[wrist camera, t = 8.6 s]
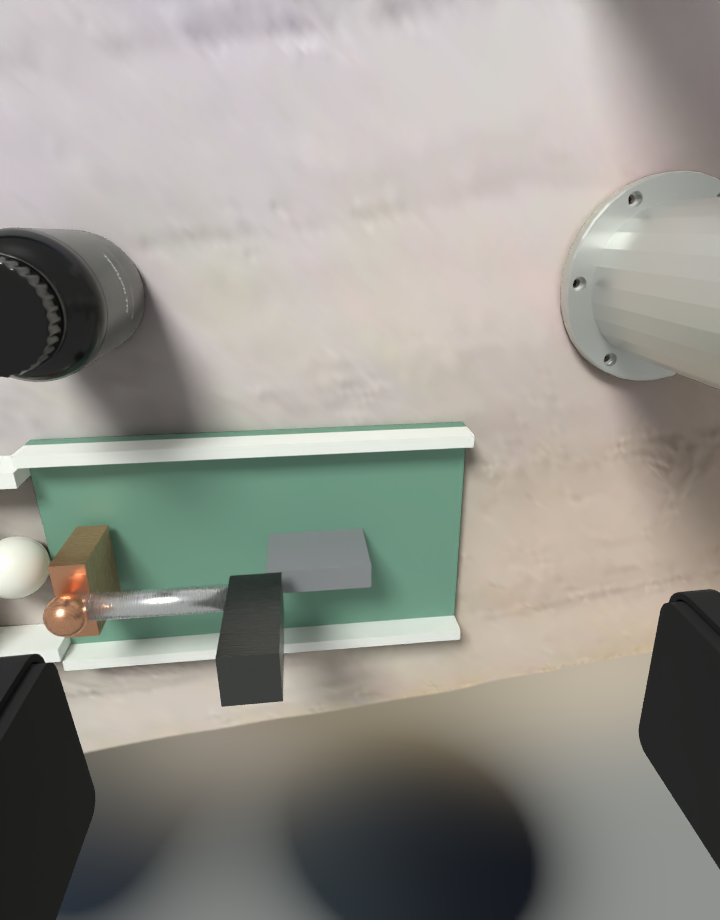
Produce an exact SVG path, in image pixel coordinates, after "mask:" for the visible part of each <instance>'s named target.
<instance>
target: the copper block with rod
mask: <svg viewBox="0 0 720 920" xmlns="http://www.w3.org/2000/svg"><path fill="white" fill-rule="evenodd" d="M48 570H49V574H50V579H51V583H52V587H53V591H54V595H55V598H54V599H52V600H51V601H50V602H49V603H48V605H47V606H46V608H45V610H44V614H43V621H44V625H45V627H46V628H47V630H48V631H49V632H50V633H52V634H54V635H56V636H60V637H65V638H72V637H86V636H99V635H100V633H101V631H102V629H103V627H104V625H105V623H106V620H115V619H129V618H143V617H157V616H171V615H185V614H198V613H212V612H223V618H222V624H221V629H220V635H219V641H218V647H217V652H216V666H217V674H218V682H219V690H220V698H221V706H222V707H223V706H234V705H245V704H257V703H268V702H279V701H283V667H284V601H283V586H282V572H278V573H263V574H248V575H233V576H230V578H229V584H217V585H202V586H187V587H172V588H158V589H143V590H128V591H121V587H120V582H119V577H118V572H117V567H116V561H115V556H114V551H113V546H112V541H111V535H110V530H109V525H97V526H79V527H76V528H75V529H74V531H73V532H72V534H71V535H70V536H69V538H68V539H67V541H66V542H65V543H64V545H63V546H62V548H61V549H60V550H59V552H58V553H57V555H56V556H55V557H54V559H53V560H52V562H51V563H50V564H49V566H48Z"/></svg>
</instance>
